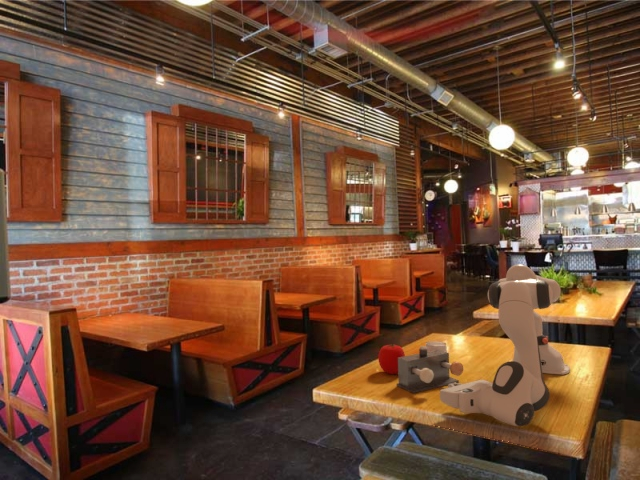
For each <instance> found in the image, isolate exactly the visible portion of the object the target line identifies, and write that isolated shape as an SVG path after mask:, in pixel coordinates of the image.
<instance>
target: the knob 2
mask: <svg viewBox="0 0 640 480" xmlns="http://www.w3.org/2000/svg"><path fill="white" fill-rule="evenodd" d="M441 366H443V367H446V368H449V373H451V374H452V375H454V376H456V377H460V376H461V375H462V374H463V372H464V365H463V363H461V362H459V361H452V363H450V362H449V363H447V362H444V361H441Z"/></svg>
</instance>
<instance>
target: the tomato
mask: <svg viewBox="0 0 640 480" xmlns="http://www.w3.org/2000/svg"><path fill="white" fill-rule="evenodd" d="M404 356H406V353H405V351H404V350H403V348H402V347H401V346H400V345H397V344H393V343H391V344H387V345H386V344H385V345H383V346H382V347H380V350H379V352H378V355H377V357H378V360H377V361H378V363H379V364H378V365H379V366H380V368H381V370H382V371H383V372H385V373H387V374H390V375H398V358H399V357H404Z"/></svg>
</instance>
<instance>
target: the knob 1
mask: <svg viewBox="0 0 640 480" xmlns="http://www.w3.org/2000/svg"><path fill="white" fill-rule="evenodd" d="M411 372H412V373H415V374H417V375H420V379H421V380H422V381H424V382H426V383H430V382H431V381H432V380H433V377H434V374H433V371H432V370H430V369H428V368H423V369H422V370H419V369H416V368H414V367H411Z"/></svg>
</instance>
